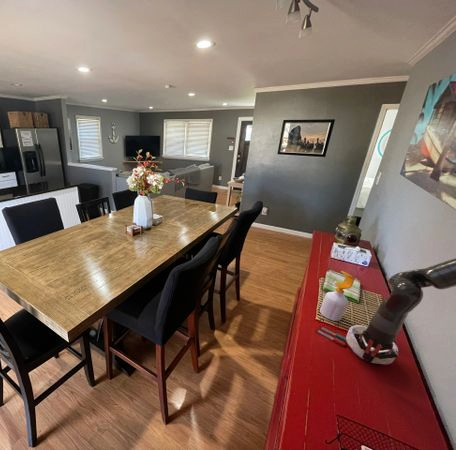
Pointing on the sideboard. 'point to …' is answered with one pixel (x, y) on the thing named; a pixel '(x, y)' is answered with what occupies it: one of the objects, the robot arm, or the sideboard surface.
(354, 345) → the paper bowls
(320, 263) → the sideboard surface
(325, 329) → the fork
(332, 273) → the dish towel
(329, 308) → the soap bottle
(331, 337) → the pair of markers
